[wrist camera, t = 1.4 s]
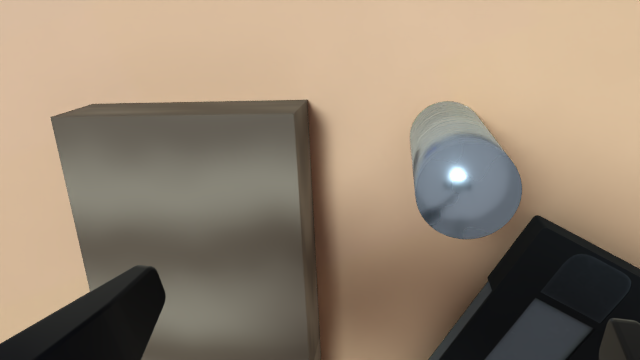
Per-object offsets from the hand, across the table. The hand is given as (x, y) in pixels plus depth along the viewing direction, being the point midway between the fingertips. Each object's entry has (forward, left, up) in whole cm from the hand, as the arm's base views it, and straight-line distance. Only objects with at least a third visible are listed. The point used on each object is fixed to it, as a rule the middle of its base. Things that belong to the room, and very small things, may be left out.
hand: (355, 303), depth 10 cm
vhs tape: (-13, -8, -17) cm, 23 cm away
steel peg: (-1, -3, -16) cm, 17 cm away
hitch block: (-11, +10, -16) cm, 22 cm away
